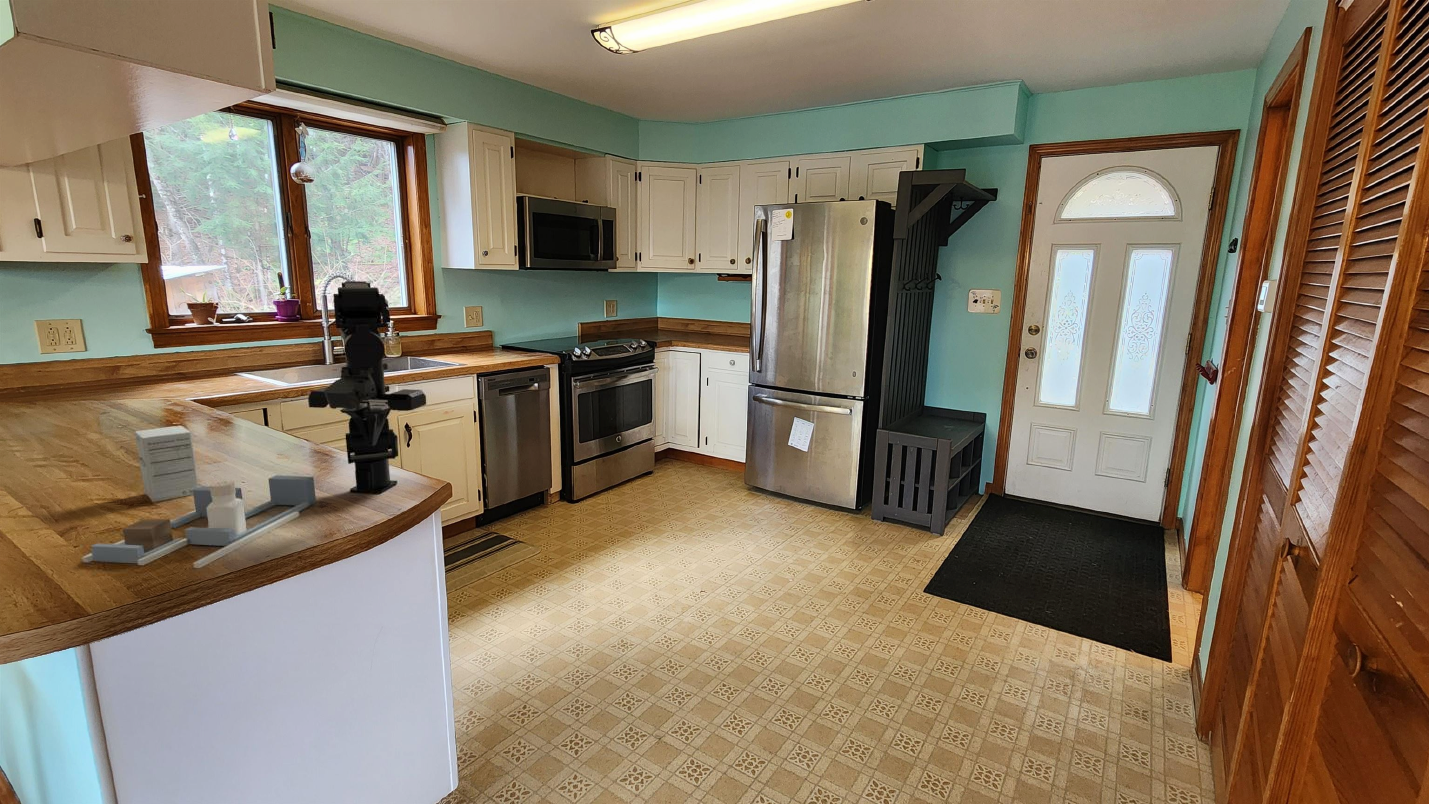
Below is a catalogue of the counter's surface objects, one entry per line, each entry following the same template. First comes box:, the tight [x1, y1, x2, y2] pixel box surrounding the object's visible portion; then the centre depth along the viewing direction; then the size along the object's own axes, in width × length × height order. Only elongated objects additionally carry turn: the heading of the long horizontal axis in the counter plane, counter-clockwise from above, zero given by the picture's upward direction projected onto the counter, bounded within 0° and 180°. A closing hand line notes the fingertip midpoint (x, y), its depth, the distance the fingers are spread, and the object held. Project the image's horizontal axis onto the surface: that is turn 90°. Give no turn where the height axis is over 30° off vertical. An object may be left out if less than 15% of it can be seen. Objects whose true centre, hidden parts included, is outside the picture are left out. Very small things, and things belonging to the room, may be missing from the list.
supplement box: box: [134, 425, 199, 503], centre depth 124 cm, size 7×7×13 cm
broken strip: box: [90, 485, 244, 564], centre depth 105 cm, size 20×7×5 cm, turn 176°
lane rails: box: [81, 508, 300, 569], centre depth 105 cm, size 21×18×1 cm
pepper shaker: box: [206, 479, 248, 536], centre depth 104 cm, size 4×4×10 cm
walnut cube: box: [122, 518, 174, 553], centre depth 101 cm, size 4×4×4 cm
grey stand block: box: [184, 474, 317, 547], centre depth 111 cm, size 20×7×5 cm, turn 176°
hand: (372, 445), depth 116 cm, fingers closed
